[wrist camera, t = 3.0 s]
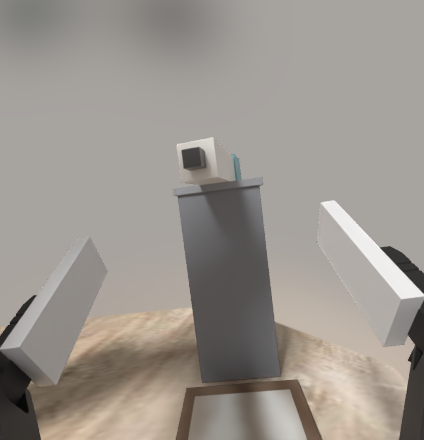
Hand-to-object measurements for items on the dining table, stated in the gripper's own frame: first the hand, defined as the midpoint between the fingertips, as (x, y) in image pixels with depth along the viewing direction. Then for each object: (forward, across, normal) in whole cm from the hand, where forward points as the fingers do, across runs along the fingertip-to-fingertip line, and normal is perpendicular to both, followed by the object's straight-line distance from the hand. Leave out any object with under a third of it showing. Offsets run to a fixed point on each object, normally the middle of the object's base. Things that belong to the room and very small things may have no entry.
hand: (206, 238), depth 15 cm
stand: (+13, 0, -36) cm, 38 cm away
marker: (+24, +1, -7) cm, 25 cm away
